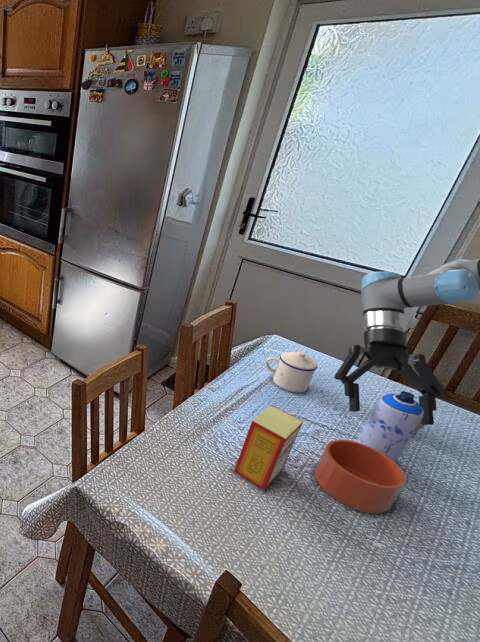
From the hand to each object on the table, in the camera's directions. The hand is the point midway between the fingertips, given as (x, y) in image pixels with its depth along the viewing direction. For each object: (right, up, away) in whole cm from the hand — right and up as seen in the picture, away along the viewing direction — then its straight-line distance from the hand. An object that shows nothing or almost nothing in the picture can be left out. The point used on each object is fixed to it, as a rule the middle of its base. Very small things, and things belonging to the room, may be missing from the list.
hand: (390, 417), depth 97 cm
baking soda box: (-30, -13, +2) cm, 33 cm away
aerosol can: (0, -12, +4) cm, 12 cm away
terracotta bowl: (-12, -15, -3) cm, 20 cm away
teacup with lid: (-1, +1, +31) cm, 31 cm away
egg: (+17, -7, +13) cm, 22 cm away
